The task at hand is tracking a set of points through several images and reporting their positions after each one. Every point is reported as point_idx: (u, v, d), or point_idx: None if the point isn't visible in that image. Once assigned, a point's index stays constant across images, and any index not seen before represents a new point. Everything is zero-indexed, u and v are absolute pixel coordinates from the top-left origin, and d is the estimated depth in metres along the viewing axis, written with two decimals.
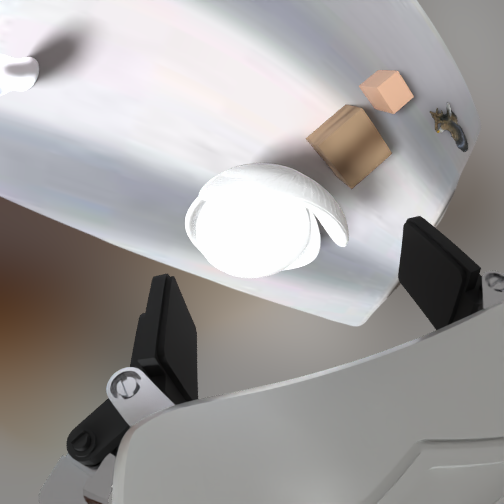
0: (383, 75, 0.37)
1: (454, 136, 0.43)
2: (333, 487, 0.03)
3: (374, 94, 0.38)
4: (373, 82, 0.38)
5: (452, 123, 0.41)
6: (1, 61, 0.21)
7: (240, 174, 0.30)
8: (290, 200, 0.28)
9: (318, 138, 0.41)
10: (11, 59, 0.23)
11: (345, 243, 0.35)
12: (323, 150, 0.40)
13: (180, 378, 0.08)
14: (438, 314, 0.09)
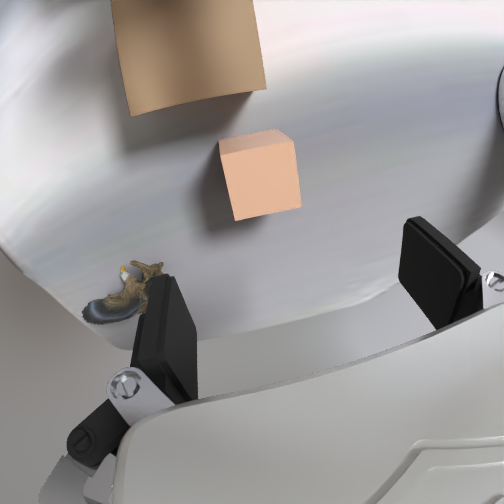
0: None
1: (111, 299, 0.28)
2: (333, 487, 0.03)
3: (266, 138, 0.21)
4: None
5: (137, 301, 0.27)
6: None
7: None
8: None
9: None
10: None
11: None
12: None
13: (180, 378, 0.08)
14: (438, 314, 0.09)
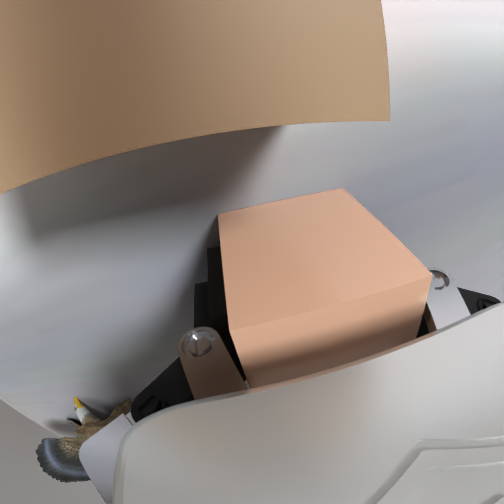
0: None
1: (68, 443, 0.15)
2: (333, 487, 0.03)
3: (346, 241, 0.08)
4: None
5: None
6: None
7: None
8: None
9: None
10: None
11: None
12: None
13: None
14: None
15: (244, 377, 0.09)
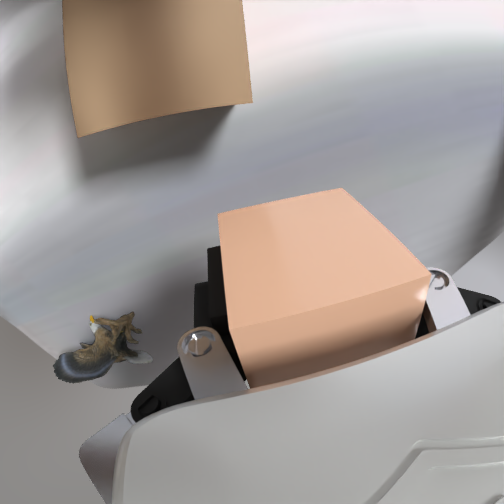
0: None
1: (81, 353, 0.23)
2: (333, 487, 0.03)
3: (345, 240, 0.08)
4: None
5: (108, 358, 0.23)
6: None
7: None
8: None
9: None
10: None
11: None
12: None
13: None
14: None
15: (244, 377, 0.09)
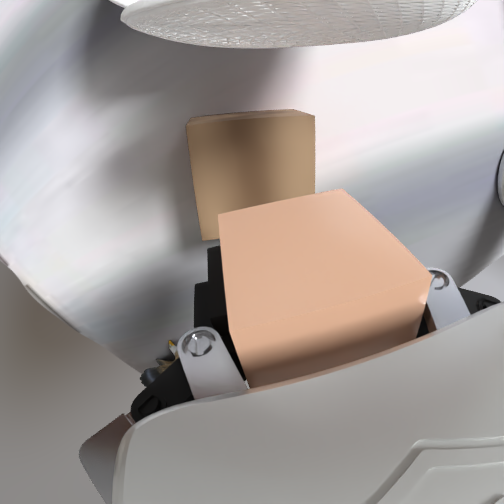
0: None
1: (164, 368, 0.35)
2: (333, 487, 0.03)
3: (345, 241, 0.08)
4: None
5: None
6: None
7: None
8: None
9: None
10: None
11: None
12: (300, 119, 0.19)
13: None
14: None
15: (244, 377, 0.09)
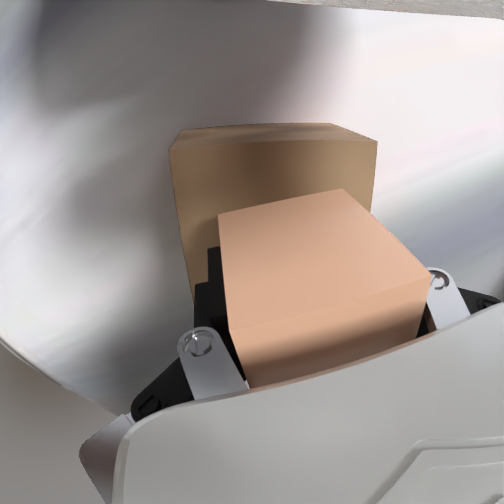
0: None
1: None
2: (333, 487, 0.03)
3: (345, 241, 0.08)
4: None
5: None
6: None
7: None
8: None
9: None
10: None
11: None
12: (357, 145, 0.12)
13: None
14: None
15: (244, 377, 0.09)
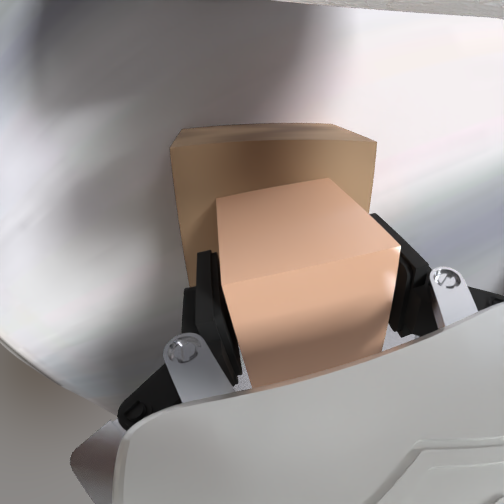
0: None
1: None
2: (333, 487, 0.03)
3: (326, 218, 0.10)
4: None
5: None
6: None
7: None
8: None
9: None
10: None
11: None
12: (356, 145, 0.12)
13: (231, 344, 0.09)
14: (391, 311, 0.10)
15: (232, 383, 0.09)
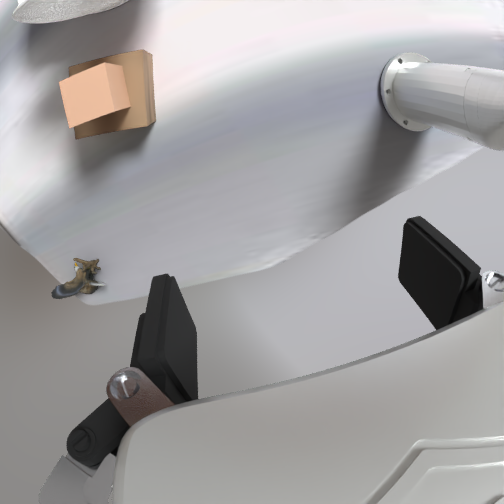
0: (118, 94, 0.24)
1: (68, 283, 0.41)
2: (333, 487, 0.03)
3: None
4: (115, 75, 0.23)
5: (81, 284, 0.40)
6: None
7: None
8: None
9: (146, 60, 0.27)
10: None
11: (16, 8, 0.11)
12: (133, 53, 0.25)
13: (180, 378, 0.08)
14: (438, 314, 0.09)
15: None
